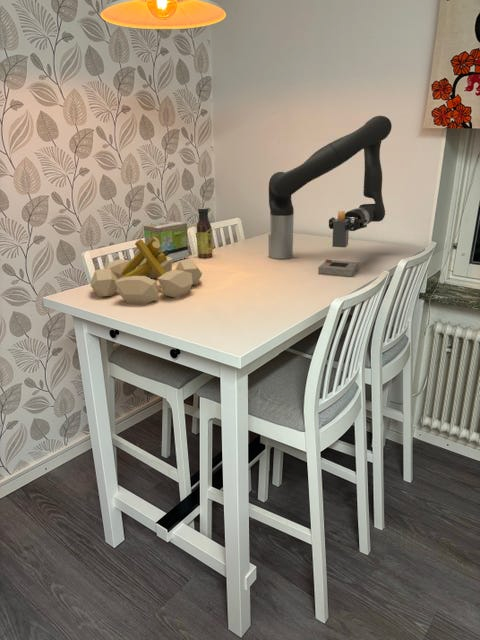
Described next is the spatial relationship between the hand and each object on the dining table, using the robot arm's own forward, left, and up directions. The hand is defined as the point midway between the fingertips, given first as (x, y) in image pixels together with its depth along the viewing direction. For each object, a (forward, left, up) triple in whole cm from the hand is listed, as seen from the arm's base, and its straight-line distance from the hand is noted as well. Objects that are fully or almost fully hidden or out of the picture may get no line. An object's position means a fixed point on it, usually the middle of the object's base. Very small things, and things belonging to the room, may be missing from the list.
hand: (338, 226), depth 170 cm
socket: (0, +2, -17) cm, 17 cm away
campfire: (-54, -39, -17) cm, 69 cm away
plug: (0, +3, -7) cm, 8 cm away
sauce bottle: (-57, +7, -17) cm, 60 cm away
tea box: (-69, -3, -17) cm, 71 cm away
